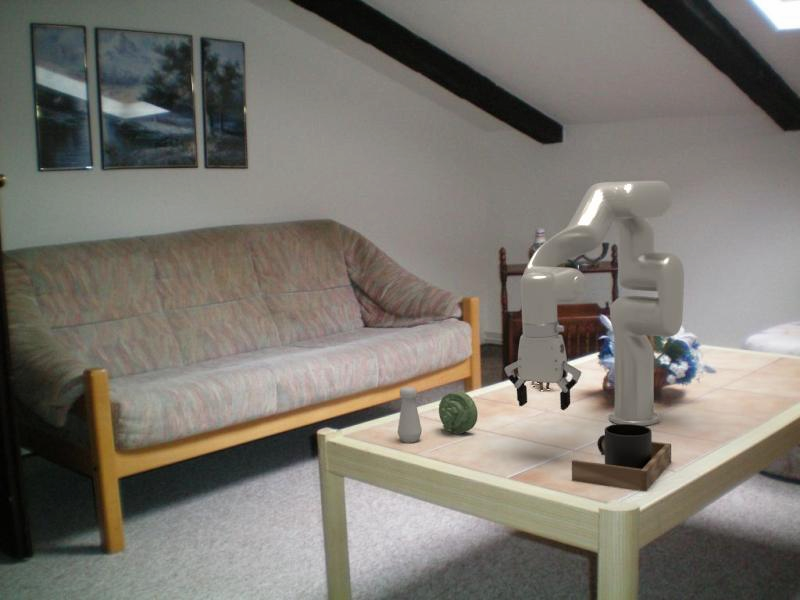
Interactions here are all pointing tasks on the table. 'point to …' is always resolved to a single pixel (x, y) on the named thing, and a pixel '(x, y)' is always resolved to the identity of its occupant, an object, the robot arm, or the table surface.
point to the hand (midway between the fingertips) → (543, 406)
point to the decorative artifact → (458, 412)
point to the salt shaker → (409, 416)
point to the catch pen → (624, 470)
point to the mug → (627, 445)
